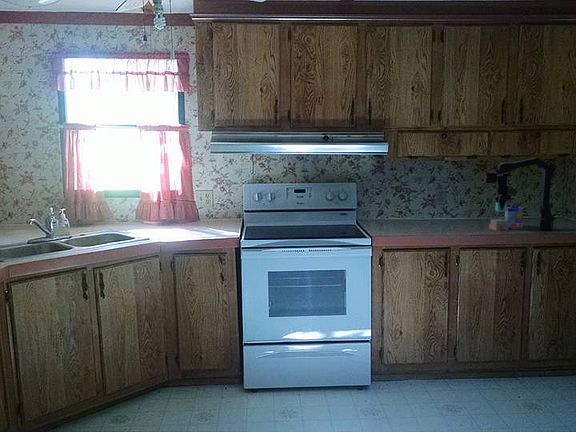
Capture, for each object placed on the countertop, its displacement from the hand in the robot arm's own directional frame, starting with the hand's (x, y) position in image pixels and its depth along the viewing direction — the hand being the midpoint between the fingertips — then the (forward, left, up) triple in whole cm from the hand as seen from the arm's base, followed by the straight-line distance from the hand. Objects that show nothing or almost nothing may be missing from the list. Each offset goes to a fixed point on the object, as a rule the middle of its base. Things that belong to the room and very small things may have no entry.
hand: (500, 209), depth 301 cm
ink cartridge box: (-14, -7, -13) cm, 20 cm away
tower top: (0, -1, -10) cm, 10 cm away
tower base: (0, -1, -13) cm, 13 cm away
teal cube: (0, 0, -1) cm, 1 cm away
